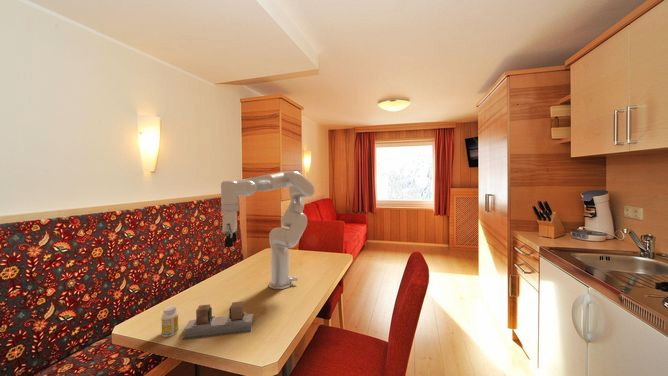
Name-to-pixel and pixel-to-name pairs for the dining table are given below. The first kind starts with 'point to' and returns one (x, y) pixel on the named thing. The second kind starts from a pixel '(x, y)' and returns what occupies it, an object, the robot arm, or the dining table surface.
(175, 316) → the supplement bottle
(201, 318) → the brown rectangular block
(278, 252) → the robot arm
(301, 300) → the dining table surface
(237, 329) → the rail
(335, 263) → the dining table surface
